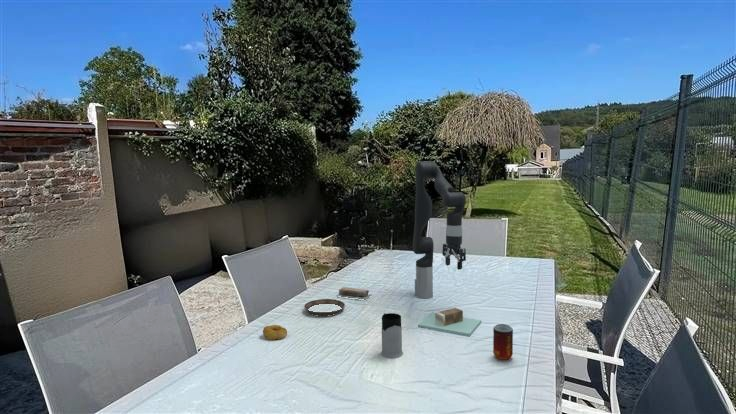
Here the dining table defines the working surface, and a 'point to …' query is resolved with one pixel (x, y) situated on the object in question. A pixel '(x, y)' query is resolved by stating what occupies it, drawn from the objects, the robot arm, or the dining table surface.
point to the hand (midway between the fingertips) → (453, 267)
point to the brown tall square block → (448, 317)
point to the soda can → (503, 342)
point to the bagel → (274, 332)
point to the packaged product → (354, 293)
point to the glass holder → (391, 336)
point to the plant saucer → (324, 301)
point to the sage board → (451, 325)
